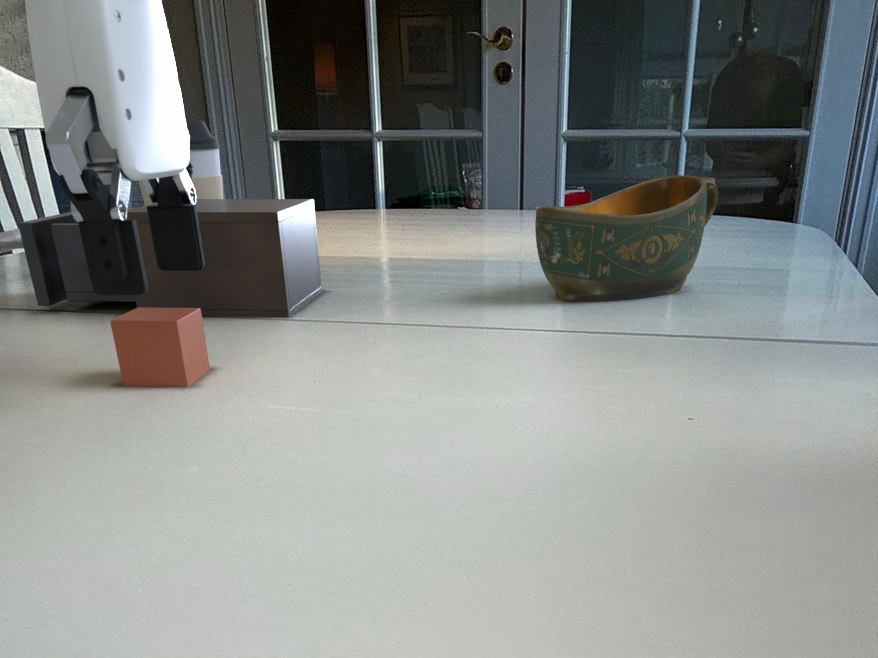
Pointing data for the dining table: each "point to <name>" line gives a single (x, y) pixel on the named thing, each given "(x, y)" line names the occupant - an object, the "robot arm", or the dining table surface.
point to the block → (161, 346)
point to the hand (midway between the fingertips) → (154, 281)
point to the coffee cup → (201, 164)
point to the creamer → (626, 240)
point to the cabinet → (240, 260)
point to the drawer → (56, 260)
